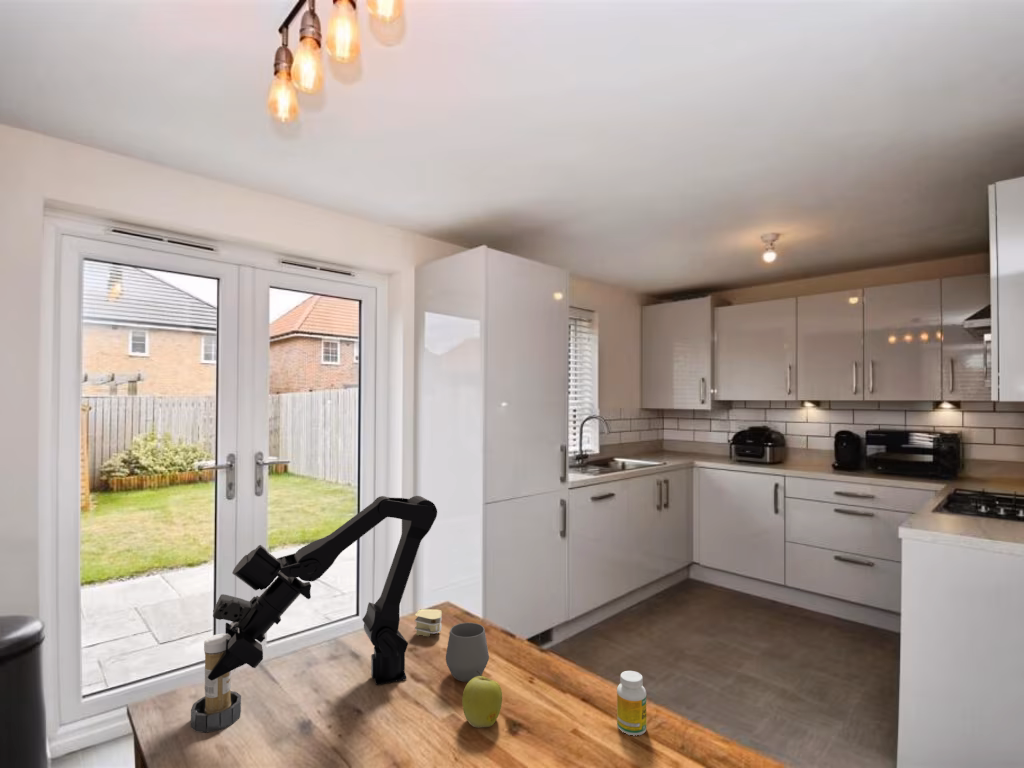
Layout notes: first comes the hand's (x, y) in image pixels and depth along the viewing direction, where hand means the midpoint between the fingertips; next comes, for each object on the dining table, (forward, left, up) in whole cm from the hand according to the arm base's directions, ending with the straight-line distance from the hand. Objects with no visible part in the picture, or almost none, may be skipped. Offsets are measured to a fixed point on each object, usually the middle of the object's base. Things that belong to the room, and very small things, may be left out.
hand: (209, 673), depth 103 cm
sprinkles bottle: (-1, 0, -7) cm, 7 cm away
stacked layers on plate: (-47, -22, -9) cm, 53 cm away
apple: (-48, +19, -9) cm, 53 cm away
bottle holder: (-1, 0, -9) cm, 9 cm away
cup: (-50, +2, -9) cm, 51 cm away
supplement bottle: (-73, +31, -9) cm, 80 cm away
